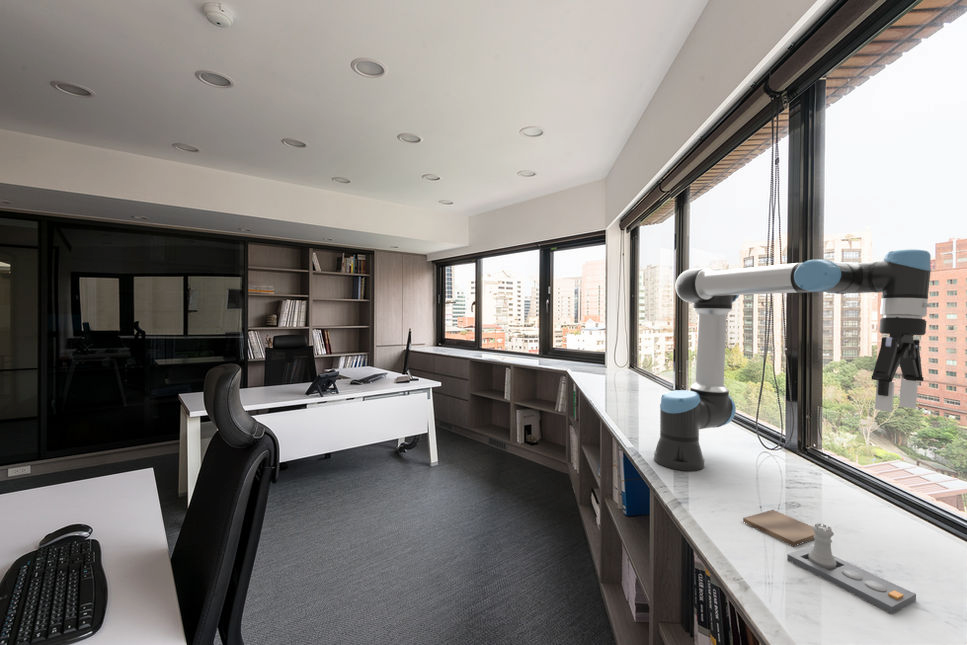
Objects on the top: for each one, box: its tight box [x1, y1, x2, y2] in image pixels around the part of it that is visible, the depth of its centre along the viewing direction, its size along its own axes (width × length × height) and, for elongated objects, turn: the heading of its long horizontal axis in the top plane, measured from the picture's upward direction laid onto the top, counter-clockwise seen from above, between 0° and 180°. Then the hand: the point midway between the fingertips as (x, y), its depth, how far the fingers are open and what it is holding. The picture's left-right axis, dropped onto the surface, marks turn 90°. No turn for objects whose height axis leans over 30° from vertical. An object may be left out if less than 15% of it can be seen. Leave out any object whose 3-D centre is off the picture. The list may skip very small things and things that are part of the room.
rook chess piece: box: [808, 522, 837, 571], centre depth 80 cm, size 4×4×8 cm
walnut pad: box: [742, 509, 815, 547], centre depth 94 cm, size 11×11×1 cm
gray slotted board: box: [786, 545, 917, 615], centre depth 76 cm, size 16×8×2 cm, turn 23°
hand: (895, 409), depth 95 cm, fingers open, 13 cm apart
